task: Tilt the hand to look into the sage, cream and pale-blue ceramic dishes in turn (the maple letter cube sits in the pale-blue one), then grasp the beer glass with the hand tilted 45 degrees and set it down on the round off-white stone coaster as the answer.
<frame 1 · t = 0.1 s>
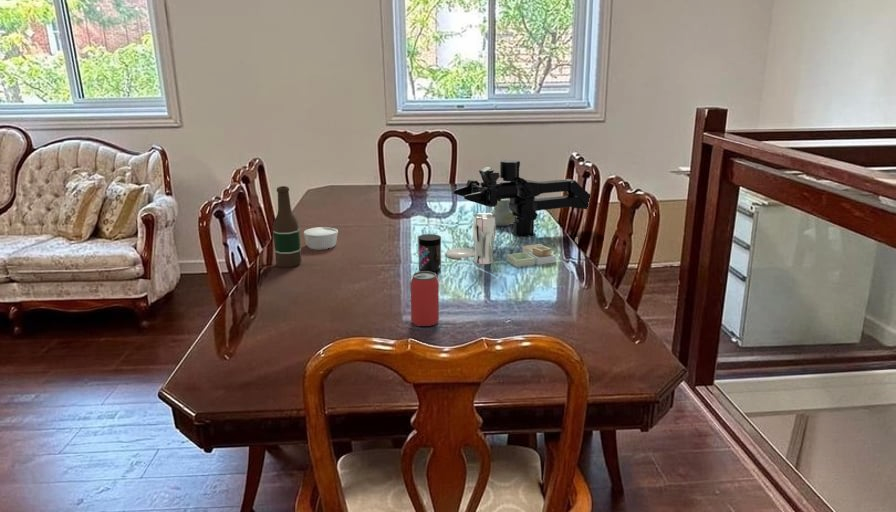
hand: (458, 194, 206), 17 cm above the table, tool horizontal, fingers open, 9 cm apart
air freshener: (501, 225, 234), on the table
beer glass: (483, 263, 189), on the table
stone coaster: (461, 254, 197), on the table
cream dish: (535, 254, 197), on the table
sage dish: (520, 264, 188), on the table
pale blue dish: (541, 261, 190), on the table
beer can: (425, 323, 146), on the table
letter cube: (541, 260, 189), resting on pale blue dish
beer bottle: (289, 264, 188), on the table
supplement container: (429, 271, 182), on the table
ramekin: (321, 246, 207), on the table
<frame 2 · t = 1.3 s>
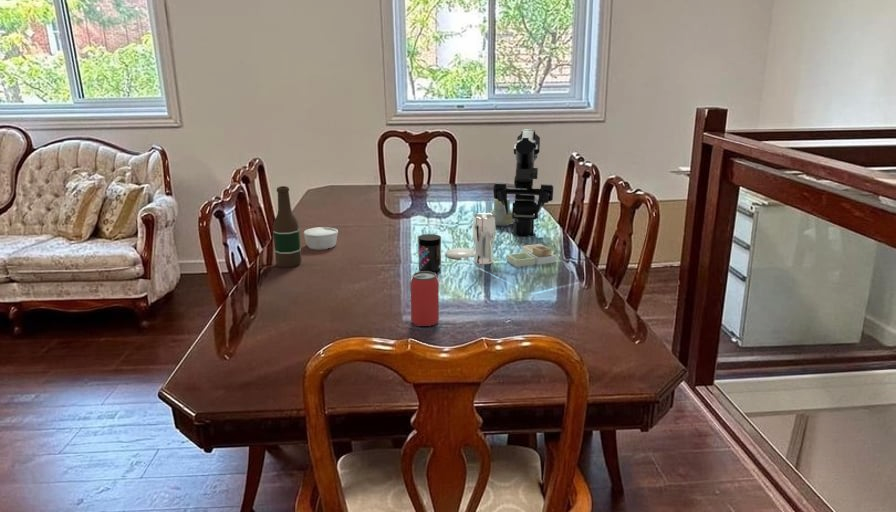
hand: (521, 214, 191), 14 cm above the table, tool tilted 45°, fingers open, 9 cm apart
nothing on the table moved.
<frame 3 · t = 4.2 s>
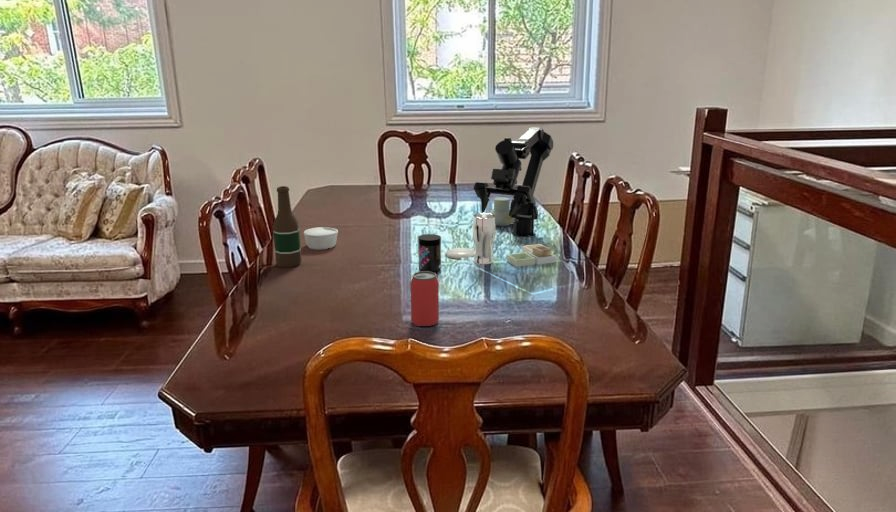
hand: (495, 214, 192), 14 cm above the table, tool tilted 45°, fingers open, 9 cm apart
nothing on the table moved.
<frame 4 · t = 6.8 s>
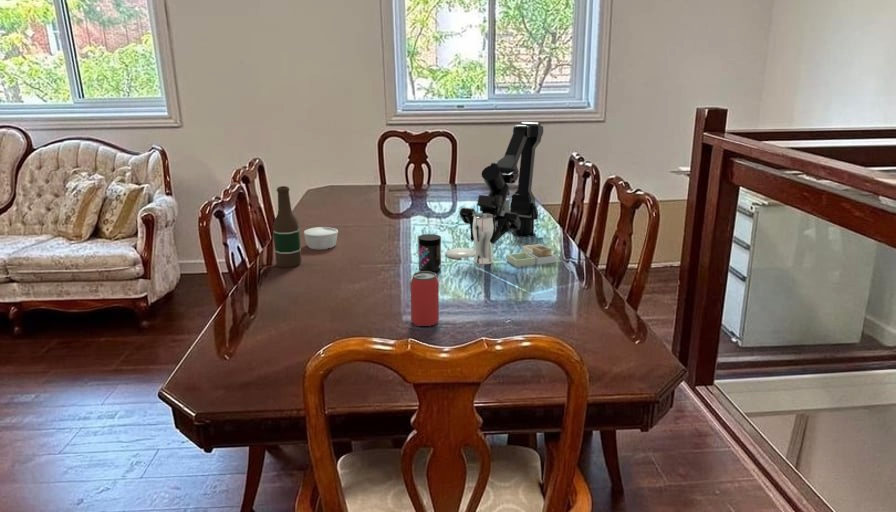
hand: (482, 241, 186), 7 cm above the table, tool tilted 45°, fingers closed on beer glass, 6 cm apart
beer glass: (483, 263, 189), on the table, touching gripper
everything else where it was.
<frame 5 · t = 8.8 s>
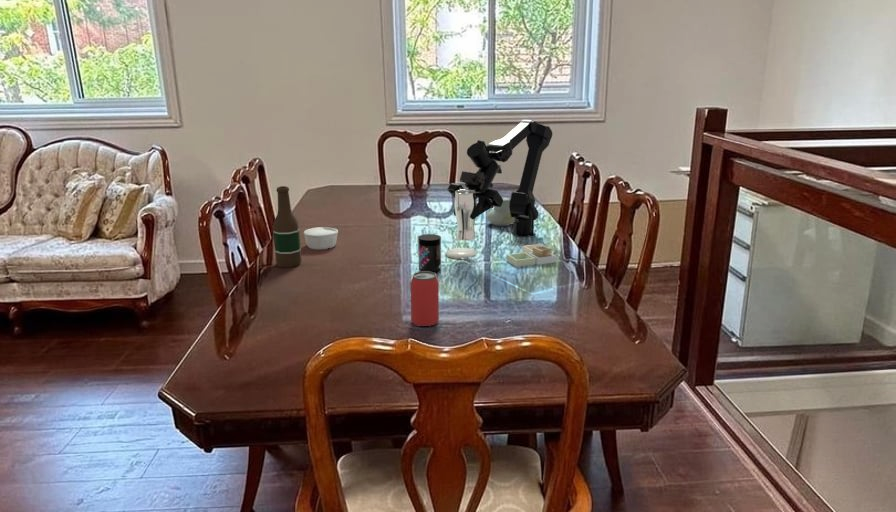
hand: (463, 217, 191), 13 cm above the table, tool tilted 45°, fingers closed on beer glass, 6 cm apart
beer glass: (465, 238, 194), point 6 cm above the table, touching gripper
everything else where it was.
when the fingers open (9 cm above the table, at t = 10.6 s): beer glass stays where it is, resting on stone coaster.
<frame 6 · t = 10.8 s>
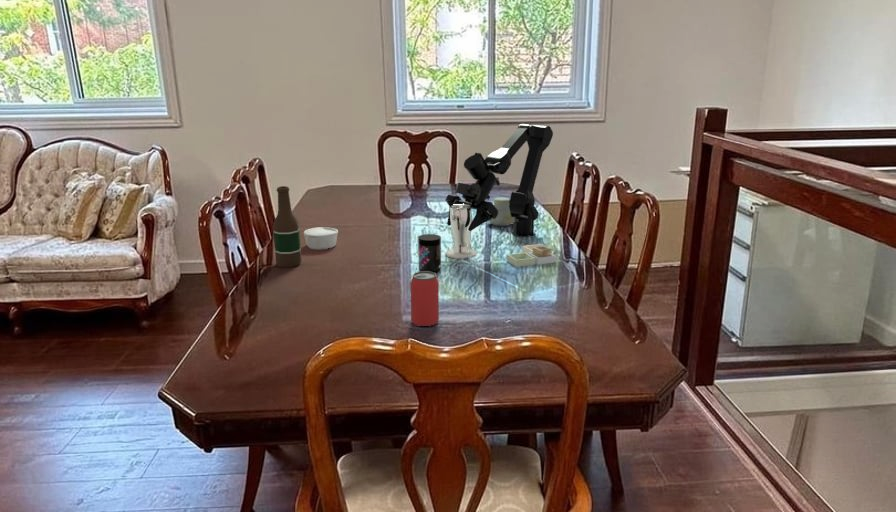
hand: (458, 227, 194), 9 cm above the table, tool tilted 45°, fingers open, 9 cm apart
beer glass: (462, 252, 198), point 1 cm above the table, touching gripper, stone coaster
everything else where it was.
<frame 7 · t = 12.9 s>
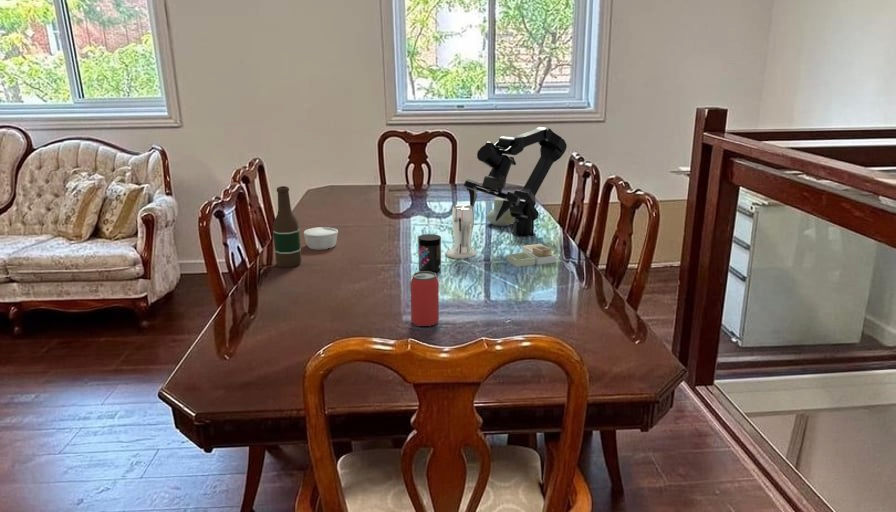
hand: (483, 216, 202), 10 cm above the table, tool tilted 30°, fingers open, 9 cm apart
beer glass: (462, 252, 198), resting on stone coaster
everything else where it was.
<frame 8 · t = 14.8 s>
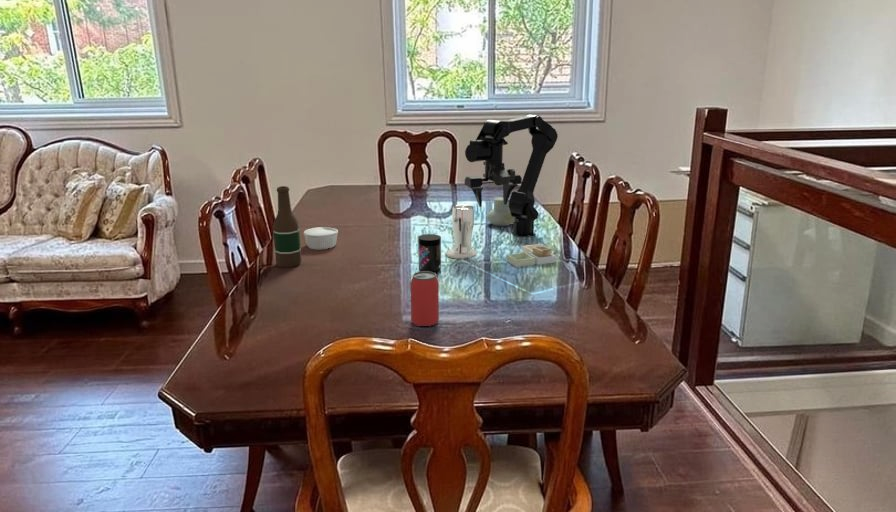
hand: (492, 205, 206), 13 cm above the table, tool pointing down, fingers open, 9 cm apart
nothing on the table moved.
at the end: beer glass 0.7 cm from the stone coaster (horizontally); beer glass tilted 0°; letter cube moved 0.0 cm from its start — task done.
